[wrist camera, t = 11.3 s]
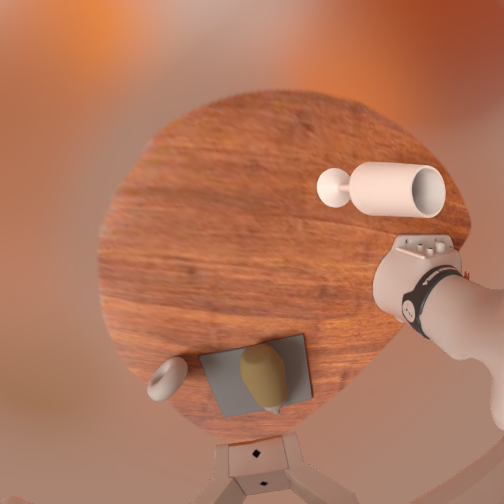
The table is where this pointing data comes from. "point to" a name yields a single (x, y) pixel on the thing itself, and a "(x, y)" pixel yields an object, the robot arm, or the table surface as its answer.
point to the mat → (234, 389)
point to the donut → (167, 379)
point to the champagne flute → (385, 189)
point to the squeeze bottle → (264, 376)
